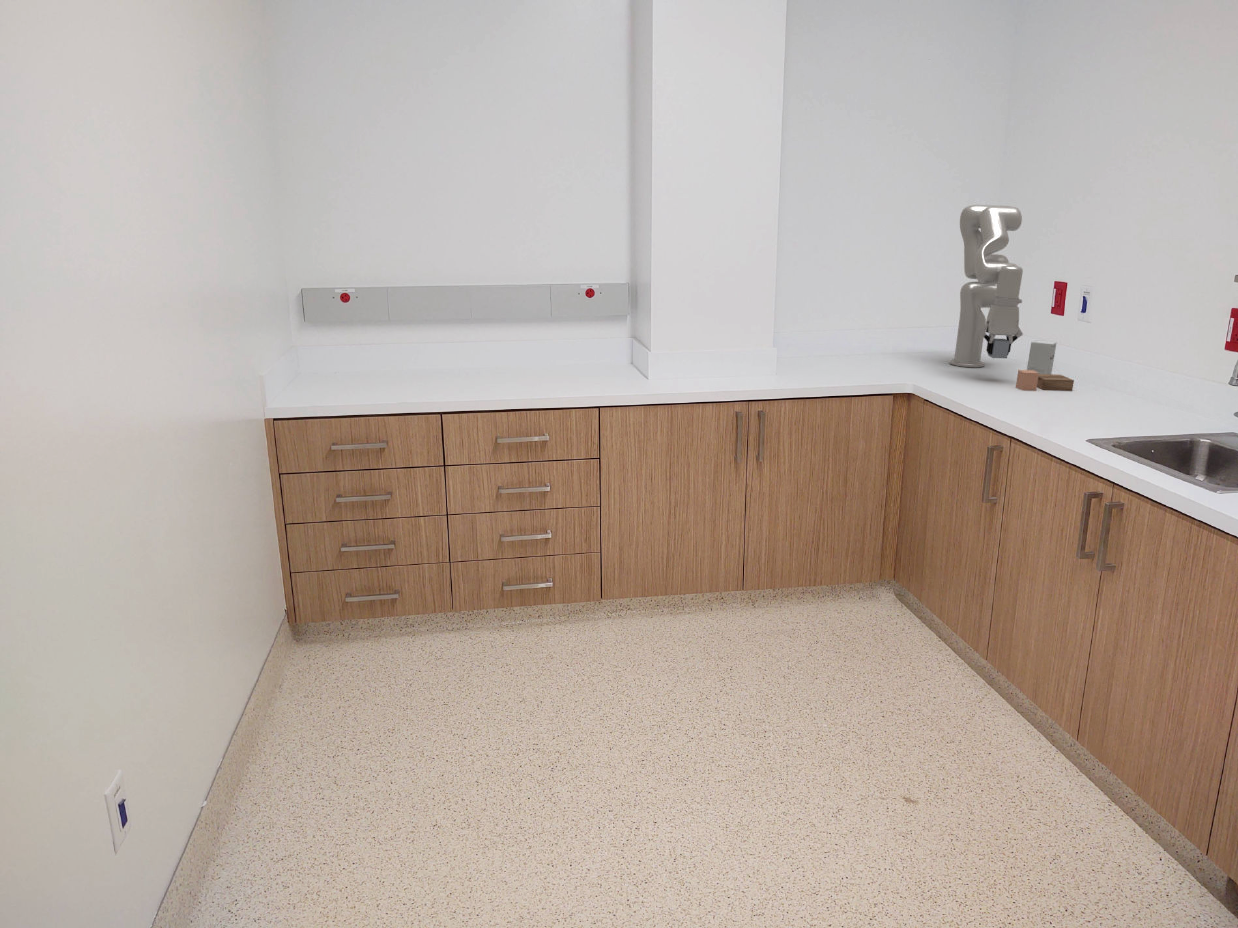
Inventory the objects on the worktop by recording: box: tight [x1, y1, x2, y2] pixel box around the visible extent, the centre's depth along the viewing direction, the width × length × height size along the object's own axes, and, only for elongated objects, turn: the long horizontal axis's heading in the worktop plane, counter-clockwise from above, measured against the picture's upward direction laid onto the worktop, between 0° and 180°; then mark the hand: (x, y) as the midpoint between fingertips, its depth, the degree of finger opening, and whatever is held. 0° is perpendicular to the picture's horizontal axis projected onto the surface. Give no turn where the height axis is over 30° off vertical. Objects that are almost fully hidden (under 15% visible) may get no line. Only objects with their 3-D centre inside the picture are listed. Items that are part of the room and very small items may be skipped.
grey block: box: [987, 338, 1010, 359], centre depth 322 cm, size 5×5×6 cm
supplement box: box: [1026, 339, 1057, 374], centre depth 334 cm, size 7×7×13 cm
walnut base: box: [1037, 373, 1075, 392], centre depth 315 cm, size 10×10×4 cm
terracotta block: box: [1015, 369, 1039, 391], centre depth 311 cm, size 5×5×6 cm
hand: (997, 353), depth 323 cm, fingers closed on grey block, 4 cm apart
